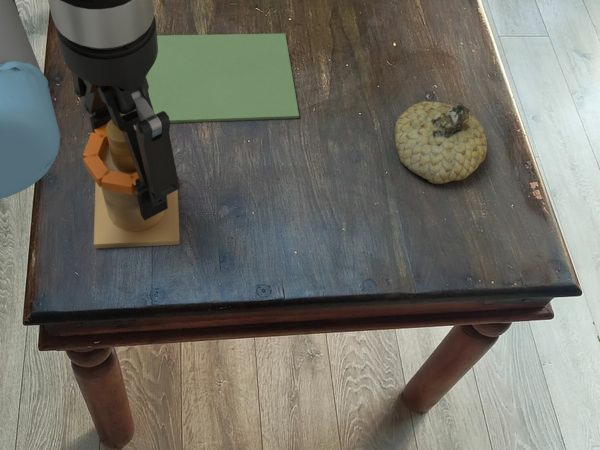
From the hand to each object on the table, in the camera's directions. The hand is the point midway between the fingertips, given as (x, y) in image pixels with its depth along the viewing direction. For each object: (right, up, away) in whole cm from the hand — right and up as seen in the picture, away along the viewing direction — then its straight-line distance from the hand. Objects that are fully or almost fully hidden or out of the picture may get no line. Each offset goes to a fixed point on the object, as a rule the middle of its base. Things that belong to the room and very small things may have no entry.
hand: (132, 181), depth 73 cm
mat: (+7, +14, +16) cm, 22 cm away
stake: (-1, -3, +5) cm, 6 cm away
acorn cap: (+34, +5, +14) cm, 38 cm away
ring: (+1, +2, -4) cm, 5 cm away
